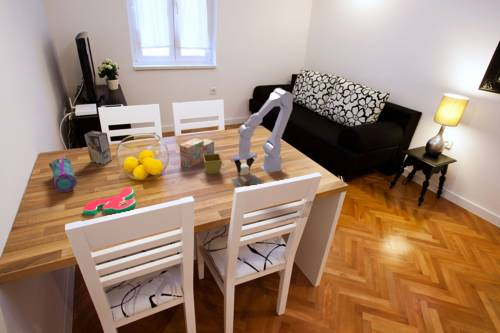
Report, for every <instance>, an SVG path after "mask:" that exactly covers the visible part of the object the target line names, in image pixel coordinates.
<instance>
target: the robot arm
mask: <svg viewBox="0 0 500 333" xmlns="http://www.w3.org/2000/svg"><path fill="white" fill-rule="evenodd" d="M293 101H294V97H293V94H292V93H291V92H290V91H287V90H284V89H282V88H281V87H277V88H275V89H274V90H273V92H271V93H270V95H269V98H268V99H267V100H266V101H265V103H264V104H263V105H262V106H261V107H260V109H259V110H258V112H255V113H253V114H251V115H249V118H248V119H247V121H245V122H244V123H243V124H242V125H240V126H239V128H238V129H237V133H238V134H239V139H238V140H239V142H238V144H239V145H238V154H237V155H234V156H230V162H231V163H233V162H234V165H235V167H236V172H237V173H238V174H239V173H240V167H241V164H243V163H242V162H241V161H242V160H244V161H246V162H245V163H246V164H247V165H248V166H249V171H250V170H251V167H252V165H253V164H254V162H255V159H257V158H258V154H257V153H255V152H253V153H251V138H252V137H253V135H254V132H255V130H256V129H257V128H258V127H259V125H261V123H263V118H264V117H265V116H266V115H267V114H268V113H269V112H270V111H271V110H272V109H273V108H274V107H279V108H280V111H279V113H278V116H277V119H276V121H275V123H274V124H275V125H274V127H273V129H272V132H271V134H270V136H269V137H267V139H266V141H265V142H264V143H263V146H262V148H263V151H264V154H263V155H264V156H263V165H260V168H261V169H262V170H263V171H264V173H265V174H270V173H276V172H281V171H282V169H281V168H282V162H283V160H282V155H281V151H282V150H281V149H282V143H281V140H282V137H283V134H284V132H285V129H286V127H287V123H288V121H289V120H290V117H291V116H290V115H291V114H292V111H293ZM254 158H255V159H254Z"/></svg>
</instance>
